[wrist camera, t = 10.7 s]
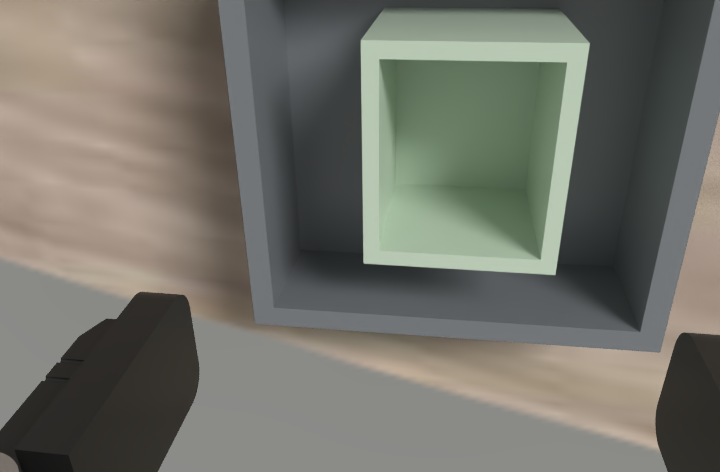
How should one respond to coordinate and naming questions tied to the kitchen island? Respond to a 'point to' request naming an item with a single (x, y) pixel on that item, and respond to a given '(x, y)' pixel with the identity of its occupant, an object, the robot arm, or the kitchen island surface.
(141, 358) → the robot arm
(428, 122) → the sage crate
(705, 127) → the charcoal crate
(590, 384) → the kitchen island surface
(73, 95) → the kitchen island surface
